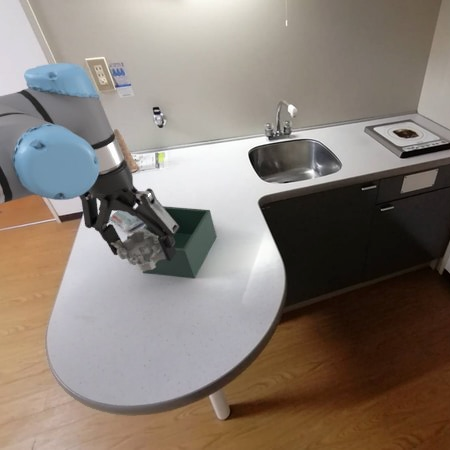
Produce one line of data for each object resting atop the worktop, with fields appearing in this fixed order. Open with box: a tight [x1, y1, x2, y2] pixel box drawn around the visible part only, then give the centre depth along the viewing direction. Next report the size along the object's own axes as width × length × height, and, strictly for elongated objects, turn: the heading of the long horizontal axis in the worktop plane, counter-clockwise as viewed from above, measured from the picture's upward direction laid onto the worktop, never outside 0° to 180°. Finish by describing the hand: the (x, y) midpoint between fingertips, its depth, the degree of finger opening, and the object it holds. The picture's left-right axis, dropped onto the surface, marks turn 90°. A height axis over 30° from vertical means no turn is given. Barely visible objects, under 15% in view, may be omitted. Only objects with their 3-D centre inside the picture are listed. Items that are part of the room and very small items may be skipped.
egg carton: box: [111, 228, 166, 272], centre depth 65 cm, size 11×8×4 cm
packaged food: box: [109, 206, 145, 233], centre depth 103 cm, size 9×12×5 cm
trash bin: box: [141, 205, 217, 279], centre depth 89 cm, size 16×18×11 cm
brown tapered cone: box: [113, 129, 139, 174], centre depth 127 cm, size 6×18×6 cm
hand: (145, 253), depth 67 cm, fingers closed on egg carton, 12 cm apart
